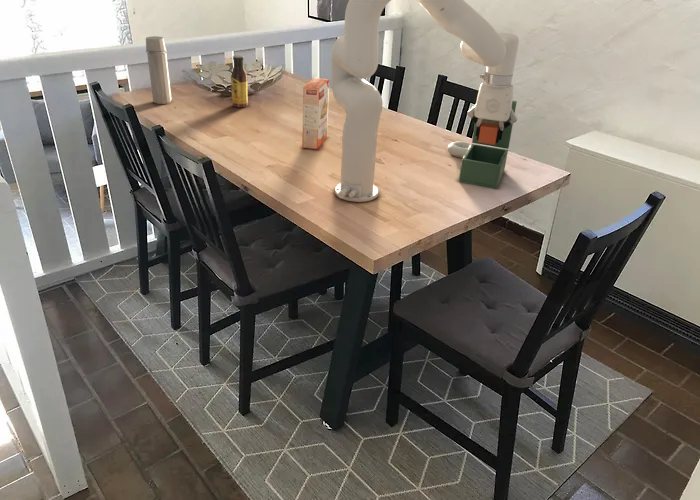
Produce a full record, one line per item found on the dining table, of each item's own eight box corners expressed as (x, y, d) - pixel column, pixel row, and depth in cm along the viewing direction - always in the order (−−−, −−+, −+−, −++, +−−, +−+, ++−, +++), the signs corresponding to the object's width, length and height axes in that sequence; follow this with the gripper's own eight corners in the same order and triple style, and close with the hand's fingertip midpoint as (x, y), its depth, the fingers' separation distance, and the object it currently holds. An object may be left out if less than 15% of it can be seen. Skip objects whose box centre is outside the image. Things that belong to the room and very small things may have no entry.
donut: (442, 150, 200) (454, 160, 192) (443, 140, 198) (455, 150, 190) (468, 148, 203) (481, 158, 194) (469, 139, 201) (482, 148, 193)
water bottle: (152, 100, 235) (144, 36, 222) (172, 99, 237) (165, 36, 225) (152, 106, 227) (144, 40, 215) (173, 105, 230) (166, 40, 217)
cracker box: (318, 150, 194) (320, 88, 183) (301, 148, 195) (302, 86, 184) (328, 137, 206) (330, 78, 195) (312, 135, 206) (313, 76, 196)
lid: (516, 102, 170) (519, 93, 174) (477, 96, 173) (481, 88, 177) (508, 149, 181) (511, 139, 185) (472, 142, 185) (475, 134, 188)
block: (494, 144, 170) (497, 128, 168) (478, 142, 172) (480, 125, 169) (497, 139, 174) (500, 123, 172) (481, 137, 176) (483, 121, 173)
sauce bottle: (230, 104, 235) (227, 54, 225) (245, 103, 237) (243, 53, 227) (234, 108, 230) (232, 58, 220) (249, 107, 232) (247, 57, 222)
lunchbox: (496, 188, 173) (500, 166, 169) (458, 181, 176) (462, 159, 172) (504, 171, 185) (508, 149, 182) (468, 164, 189) (472, 143, 185)
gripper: (466, 78, 163) (457, 139, 172) (527, 86, 158) (514, 148, 167) (471, 73, 169) (462, 132, 178) (530, 80, 164) (518, 141, 173)
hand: (488, 139), depth 173 cm, fingers closed on block, 5 cm apart
